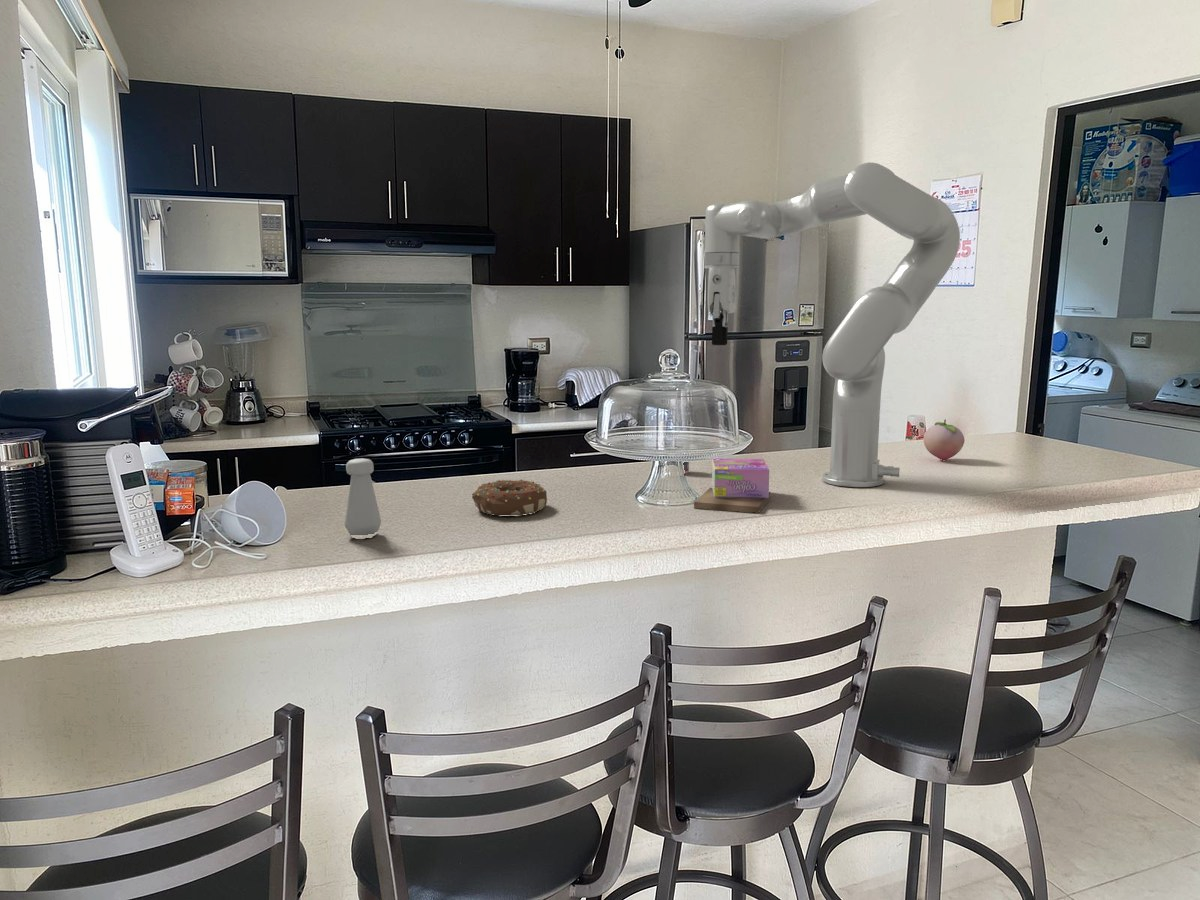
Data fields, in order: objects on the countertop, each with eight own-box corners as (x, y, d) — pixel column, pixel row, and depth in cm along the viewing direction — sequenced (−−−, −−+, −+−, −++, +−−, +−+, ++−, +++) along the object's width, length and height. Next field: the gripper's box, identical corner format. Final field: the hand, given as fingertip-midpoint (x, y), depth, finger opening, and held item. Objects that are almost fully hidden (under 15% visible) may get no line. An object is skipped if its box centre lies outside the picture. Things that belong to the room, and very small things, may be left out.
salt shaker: (338, 537, 141) (333, 460, 138) (365, 529, 145) (360, 455, 143) (362, 543, 137) (357, 464, 135) (388, 534, 142) (384, 458, 140)
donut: (495, 500, 167) (495, 475, 167) (559, 505, 162) (558, 480, 162) (458, 517, 154) (457, 490, 154) (525, 523, 149) (524, 496, 148)
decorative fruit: (914, 458, 206) (916, 417, 204) (943, 456, 208) (945, 416, 207) (939, 465, 197) (941, 423, 196) (969, 463, 199) (972, 421, 198)
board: (770, 497, 166) (770, 491, 166) (758, 513, 154) (758, 506, 154) (710, 493, 171) (710, 487, 170) (693, 508, 159) (694, 501, 158)
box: (764, 457, 171) (769, 469, 159) (763, 485, 172) (768, 499, 160) (712, 457, 172) (713, 469, 160) (711, 484, 173) (713, 498, 162)
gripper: (732, 260, 180) (730, 347, 184) (743, 262, 194) (741, 343, 198) (697, 260, 183) (696, 346, 186) (711, 263, 197) (709, 343, 200)
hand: (719, 344), depth 192 cm, fingers closed
